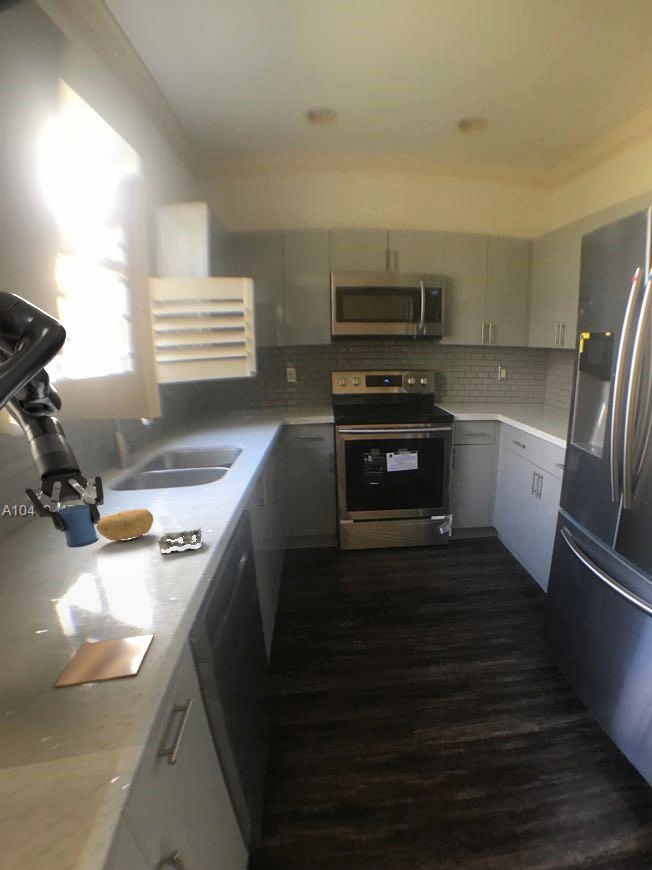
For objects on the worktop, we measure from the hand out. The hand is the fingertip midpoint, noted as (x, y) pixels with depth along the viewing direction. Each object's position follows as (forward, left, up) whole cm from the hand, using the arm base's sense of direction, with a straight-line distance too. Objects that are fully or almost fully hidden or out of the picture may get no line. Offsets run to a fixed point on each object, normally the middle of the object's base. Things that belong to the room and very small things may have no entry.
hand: (79, 525), depth 94 cm
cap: (-1, +2, -4) cm, 5 cm away
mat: (+10, -25, -16) cm, 32 cm away
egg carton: (+13, +22, -16) cm, 30 cm away
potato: (-3, +32, -16) cm, 36 cm away
